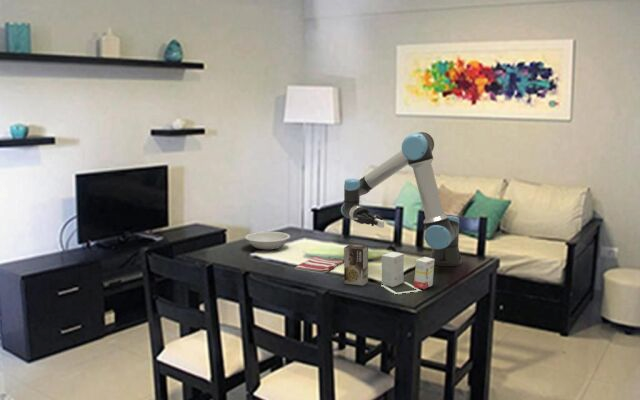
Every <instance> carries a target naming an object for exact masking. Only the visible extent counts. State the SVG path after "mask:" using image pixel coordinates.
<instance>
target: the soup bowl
mask: <svg viewBox="0 0 640 400" xmlns="http://www.w3.org/2000/svg"><path fill="white" fill-rule="evenodd" d="M290 238H291V235H290V234H288V233H285V232H282V231H258V232H253V233H249V234H245V236H244V239H245V240H247V241H248V242H249V244H250V245H251V246H252V247H254V248H256V249H259V250H275V249H278V248H280V247H282V246H284V245H285V244H286V243H287V240H289V239H290Z"/></svg>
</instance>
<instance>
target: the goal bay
mask: <svg viewBox="0 0 640 400" xmlns="http://www.w3.org/2000/svg"><path fill="white" fill-rule="evenodd" d="M403 284H405V285H406V286H408V287H410V288H411V289H413V288H414V289H413V290H407V291H400V292H396V291H395V290H393V289H392V288H390V287H389V286H387V285H382V284H380V286H381V287H382V288H383V287H384V289H385V290H387V291H389V293H392V294H393V293H394V294H393V295H395V294H398V295H403V294H402V293H406V294H411V293H410V292H414V293H419V292H418V291H421V292H422V291H423V289H421V288H416V287H414V284H411V283H409V282H407V281H403ZM415 289H416V290H415Z"/></svg>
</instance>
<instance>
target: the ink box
mask: <svg viewBox="0 0 640 400" xmlns="http://www.w3.org/2000/svg"><path fill="white" fill-rule="evenodd" d="M434 260H435V259H432V258H430V257H427V256H422V257H420V258H417V259H416V260H415V270H414V271H415V272H414V280H413V281H414V282H413V283H414V284H413V286H414V287H416V288H418V289H420V290H425V289H428V288H430V287H432V286H433V284H434V269H435V265H434Z"/></svg>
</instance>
